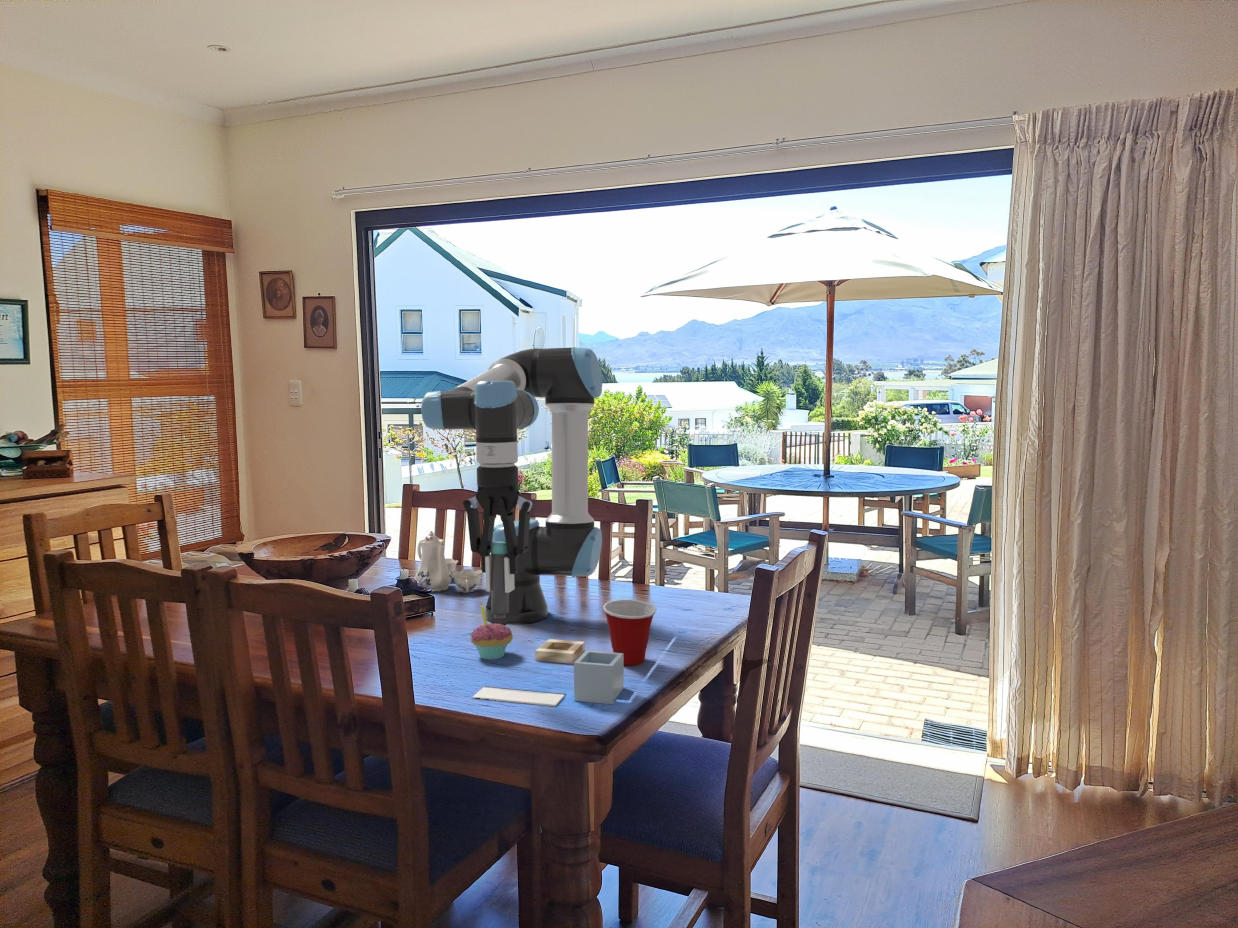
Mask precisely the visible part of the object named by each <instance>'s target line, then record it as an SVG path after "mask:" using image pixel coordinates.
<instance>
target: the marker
mask: <svg viewBox="0 0 1238 928" xmlns="http://www.w3.org/2000/svg"><path fill="white" fill-rule="evenodd" d="M506 555H508V551H507V545H506V542H492V591H491V613H494V618H496V619H503V618H505V613H508V612H509V593H505V569H504V558H505V557H507V556H506Z"/></svg>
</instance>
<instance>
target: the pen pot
mask: <svg viewBox="0 0 1238 928" xmlns="http://www.w3.org/2000/svg"><path fill="white" fill-rule="evenodd" d="M624 667H625V666H624V664H623V653H613V651H612V652H611V651H610V652H609V651H600V650H599V651H598V650H586V649H585V652H584V653H583V654H582V655H581V656H580V657H579V658H578V659H577V660H576V661H575V662H574V663H573V691H574V692H573V694H574V701H575V702H582V703H583V702H585V703H594V704H604V705H605V704H606V705H614V704H615V703H616V701H617V700H618V698H617V697H618V696H619V695H620V693H621V692H622V691H623V689H624V685H625V684H624V683H625V680H624V679H625V678H624V675H625V674H624V672H625V671H624Z"/></svg>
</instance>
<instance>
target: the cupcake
mask: <svg viewBox="0 0 1238 928" xmlns="http://www.w3.org/2000/svg"><path fill="white" fill-rule="evenodd" d="M480 611H481V615H482V616H481V617H482V621H483V624H482V625H479V626H477V627H476V628H474V630H473V631H472V632H471V634H470V642H471V643H472V644H473V645H474V646H475V648H476V650H477V652H478V655H479V658H480V659H483V660H497V659H500V658H503V657H504V656H505V653H506V649H507V647H508V644H510V643H512V641H513V639H514V637H513V633H512V631H511V628H509V627H508V626H506V625H505V624H500V623H494V622H490V623H488V622H487V621H488V620H487V619H486V615H485V606H484V605H483V603H482V601H480Z"/></svg>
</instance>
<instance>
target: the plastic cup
mask: <svg viewBox="0 0 1238 928" xmlns="http://www.w3.org/2000/svg"><path fill="white" fill-rule="evenodd" d="M602 609H603V611H604V613H605V618H606V621H607V625H608V633H609V638H610V639H609V640H610V643H611V645H610V646H611V648H612V652H613V653H623V664H624V667H636V666H640V665H642V664H643V663H644V662H645V659H646V654H647V653H646V652H647V649H648V643H649V637H650V631H651V624H652V621H653V619H654V616H655V614H656V611H657V610H658V609H657V607H656V605H653V604H652V603H650V602H647V601H643V600H637V599H615V600H611V601H608V602H606V603H604V605H603V606H602Z"/></svg>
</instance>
